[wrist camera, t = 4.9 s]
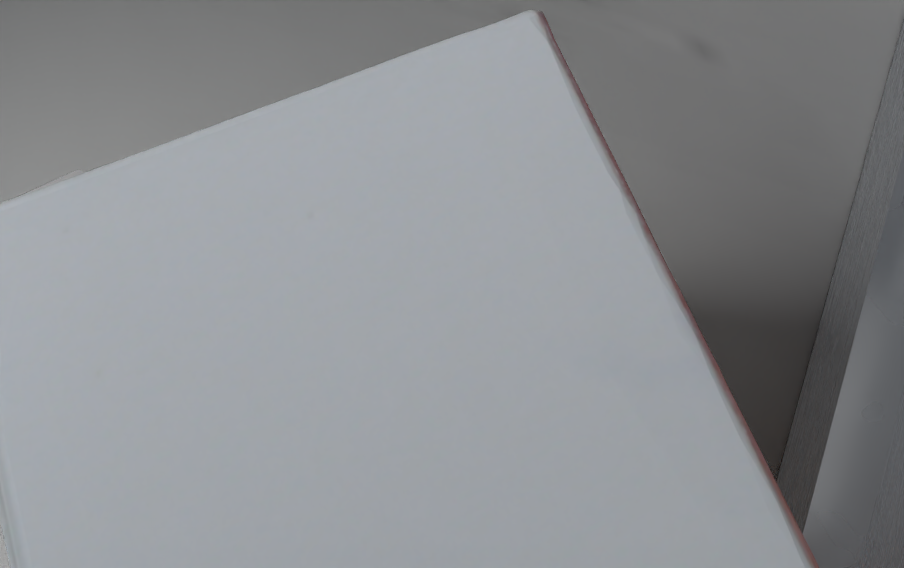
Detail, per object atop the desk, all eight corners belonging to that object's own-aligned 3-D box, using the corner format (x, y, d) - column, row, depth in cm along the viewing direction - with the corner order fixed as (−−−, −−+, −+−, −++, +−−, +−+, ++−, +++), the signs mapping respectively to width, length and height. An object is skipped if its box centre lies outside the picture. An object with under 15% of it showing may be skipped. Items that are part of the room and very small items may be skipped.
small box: (679, 673, 14) (1120, 1117, 4) (403, 788, 14) (159, 1554, 4) (517, 293, 16) (550, -26, 6) (275, 387, 16) (-96, 214, 6)
